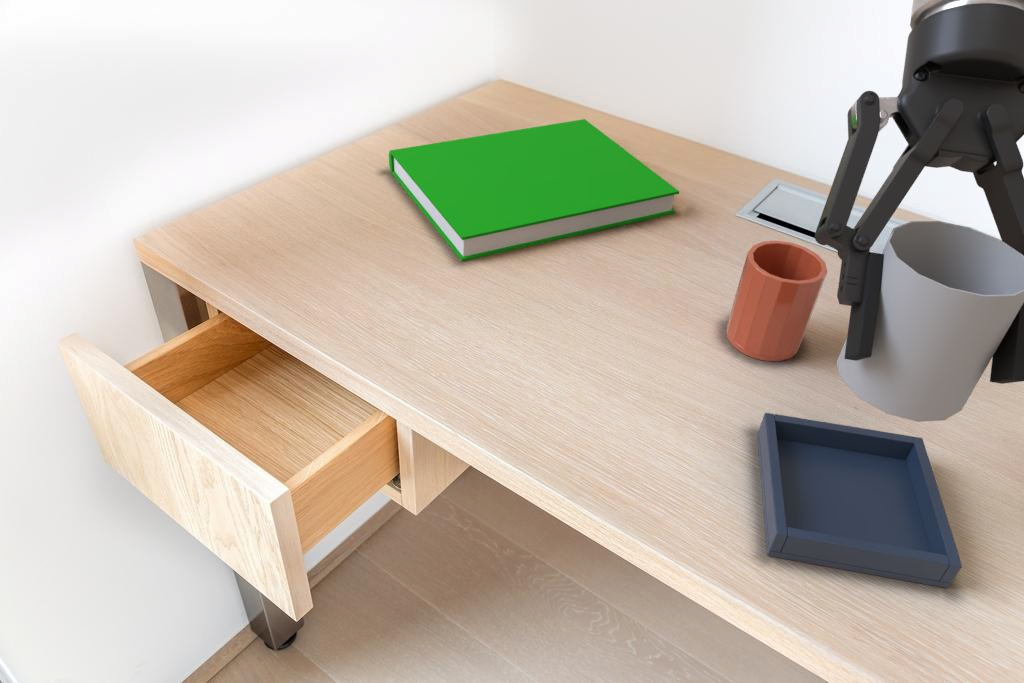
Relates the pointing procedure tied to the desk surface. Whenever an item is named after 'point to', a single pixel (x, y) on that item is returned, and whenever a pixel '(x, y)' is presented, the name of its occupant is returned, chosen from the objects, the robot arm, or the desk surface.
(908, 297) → the cup
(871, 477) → the tray
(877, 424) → the desk surface
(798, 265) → the tumbler
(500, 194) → the book
